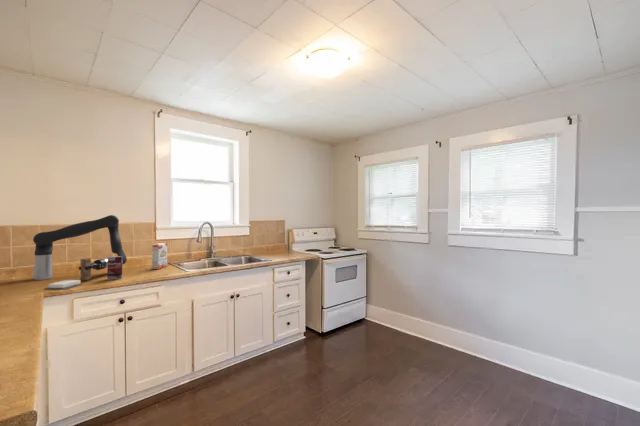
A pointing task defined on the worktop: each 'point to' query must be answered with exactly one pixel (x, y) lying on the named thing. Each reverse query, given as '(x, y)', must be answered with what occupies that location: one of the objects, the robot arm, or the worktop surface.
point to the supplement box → (114, 267)
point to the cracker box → (159, 255)
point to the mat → (64, 288)
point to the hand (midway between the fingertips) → (82, 268)
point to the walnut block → (84, 273)
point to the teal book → (64, 283)
